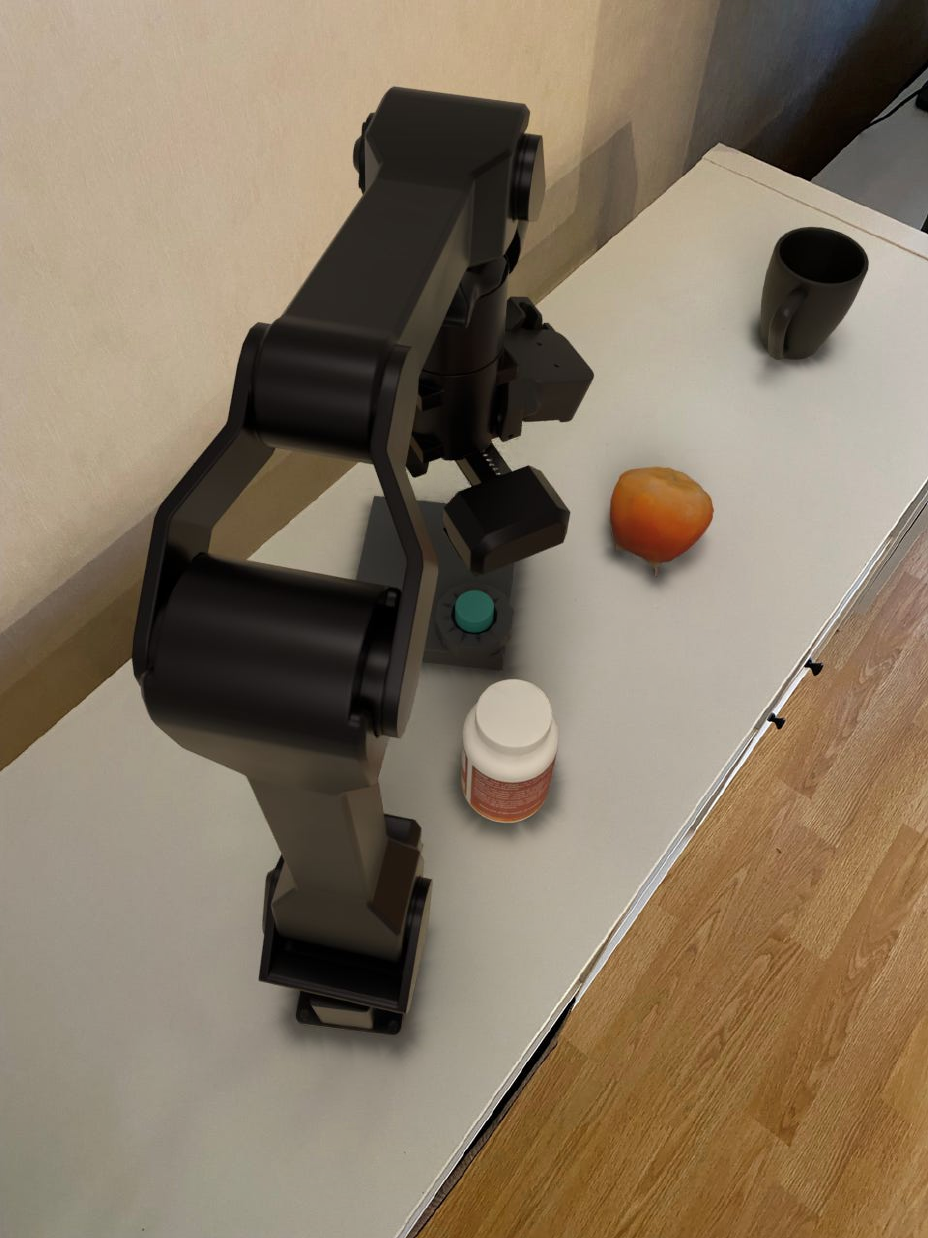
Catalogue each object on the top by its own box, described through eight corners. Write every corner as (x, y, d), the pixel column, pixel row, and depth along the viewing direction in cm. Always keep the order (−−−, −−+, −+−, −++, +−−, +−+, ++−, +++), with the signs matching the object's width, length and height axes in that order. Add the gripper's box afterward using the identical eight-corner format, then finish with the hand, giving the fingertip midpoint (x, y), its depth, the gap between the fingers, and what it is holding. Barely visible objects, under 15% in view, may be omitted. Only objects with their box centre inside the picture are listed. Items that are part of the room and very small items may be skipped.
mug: (712, 368, 90) (738, 284, 82) (769, 299, 96) (799, 214, 88) (792, 406, 88) (827, 323, 80) (846, 333, 93) (884, 249, 85)
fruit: (579, 559, 76) (612, 466, 73) (605, 531, 83) (637, 445, 79) (674, 600, 74) (714, 507, 71) (694, 567, 81) (730, 481, 77)
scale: (506, 675, 72) (509, 651, 69) (344, 657, 73) (339, 633, 70) (522, 525, 80) (525, 497, 77) (375, 509, 81) (372, 482, 78)
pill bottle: (566, 796, 67) (586, 726, 58) (493, 842, 65) (502, 778, 56) (515, 728, 70) (526, 650, 61) (443, 771, 68) (444, 698, 59)
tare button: (491, 635, 71) (491, 624, 69) (453, 631, 71) (453, 619, 69) (494, 603, 72) (495, 591, 71) (457, 599, 72) (457, 587, 71)
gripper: (675, 405, 49) (626, 582, 62) (502, 200, 57) (491, 393, 71) (479, 479, 46) (471, 647, 59) (328, 251, 55) (350, 442, 68)
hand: (448, 521), depth 64 cm, fingers open, 9 cm apart
